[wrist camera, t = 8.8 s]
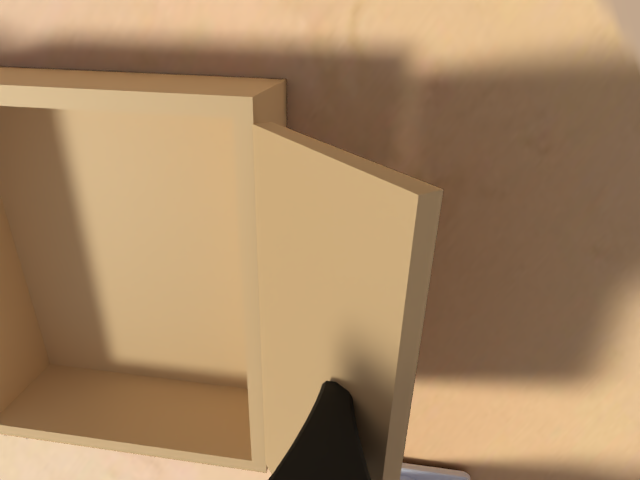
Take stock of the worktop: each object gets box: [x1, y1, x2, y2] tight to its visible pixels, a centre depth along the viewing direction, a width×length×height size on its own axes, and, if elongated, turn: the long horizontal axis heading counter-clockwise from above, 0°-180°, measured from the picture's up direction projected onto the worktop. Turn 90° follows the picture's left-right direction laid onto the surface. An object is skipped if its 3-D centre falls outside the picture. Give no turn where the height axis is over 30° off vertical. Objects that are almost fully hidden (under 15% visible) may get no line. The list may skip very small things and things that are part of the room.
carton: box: [0, 67, 287, 473], centre depth 18 cm, size 15×13×4 cm
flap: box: [252, 122, 444, 480], centre depth 13 cm, size 6×14×1 cm
